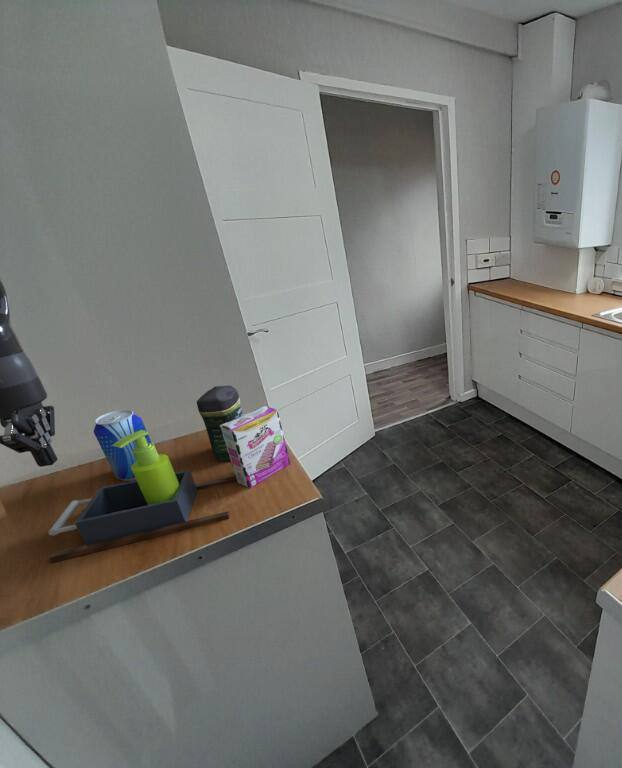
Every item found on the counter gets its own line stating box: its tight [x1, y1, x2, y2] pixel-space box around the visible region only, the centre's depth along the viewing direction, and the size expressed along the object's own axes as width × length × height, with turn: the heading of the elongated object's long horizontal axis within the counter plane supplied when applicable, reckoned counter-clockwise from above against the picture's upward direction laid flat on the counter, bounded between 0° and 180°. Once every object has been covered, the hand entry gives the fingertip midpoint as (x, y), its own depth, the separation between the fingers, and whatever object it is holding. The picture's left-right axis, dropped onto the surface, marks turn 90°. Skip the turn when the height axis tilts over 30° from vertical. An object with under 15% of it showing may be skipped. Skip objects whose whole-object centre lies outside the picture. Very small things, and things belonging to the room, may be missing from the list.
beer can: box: [93, 409, 153, 482], centre depth 97 cm, size 8×8×16 cm
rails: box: [48, 475, 237, 563], centre depth 87 cm, size 28×15×1 cm, turn 115°
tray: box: [47, 469, 198, 545], centre depth 84 cm, size 20×12×6 cm, turn 115°
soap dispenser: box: [112, 430, 180, 505], centre depth 84 cm, size 6×7×20 cm
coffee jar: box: [196, 385, 244, 463], centre depth 105 cm, size 10×8×19 cm
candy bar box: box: [220, 405, 291, 490], centre depth 97 cm, size 11×5×16 cm, turn 154°
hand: (48, 463), depth 76 cm, fingers closed
